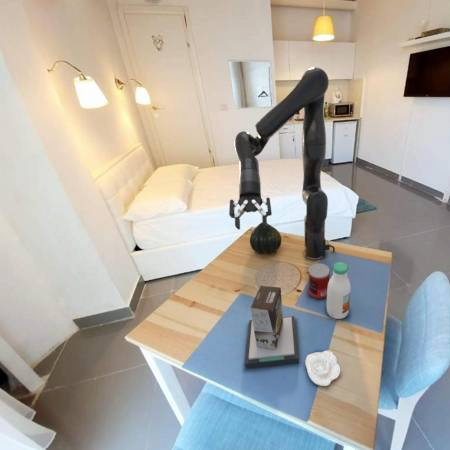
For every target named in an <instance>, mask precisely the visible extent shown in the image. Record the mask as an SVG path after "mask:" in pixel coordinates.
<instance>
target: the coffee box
mask: <svg viewBox="0 0 450 450" xmlns="http://www.w3.org/2000/svg"><path fill="white" fill-rule="evenodd" d="M250 313H251V320H253V327H254V333H255V340H256V346H257V347H260V348H266V349H272V350H276V349H277V346H278V343H279V339H280V336H281V332H282V329H283V325H284V324H283V317H284V312H283V301H282V288H281V287H279V286H271V285H268V286H267V285H260V286H259V288H258V290H257V293H256V295H255V297H254V299H253V301H252V304H251V306H250Z"/></svg>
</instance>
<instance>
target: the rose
mask: <svg viewBox="0 0 450 450" xmlns="http://www.w3.org/2000/svg"><path fill="white" fill-rule="evenodd" d="M304 364H305V368H306V372H307V375H308V377H309V379H310V381H311V382H312V383H313V384H315V385H317V386H320V387H328V386H329V385H331V383H332V381H334V380H336V379H337V378H339V377H340V374H341V366H340V365H339V363H338V359H337V357H336V355H335V354H334V353H333V351H331V350H323V351H317V352H313V353H309V354H308V355H307V356H306V357H305V361H304Z"/></svg>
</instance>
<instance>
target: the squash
mask: <svg viewBox="0 0 450 450" xmlns="http://www.w3.org/2000/svg"><path fill="white" fill-rule="evenodd" d="M249 244H250V247H251V249H252V250H253V251H254V252H256V253H259V254H267V253H268V254H272V255H273V254H275V253H276V251H278V250H279V249H280V247H281V245H282V235H281V233H280V231H279V230H278V229H276V228H275V227H274V226H272V225H271V224H269V223H268V222H267V226H265V228H263V223H262V222H260V223H259V224H258V225H256V227H254V229H253V230H252V232H251V234H250V236H249Z"/></svg>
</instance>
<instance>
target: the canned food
mask: <svg viewBox="0 0 450 450" xmlns="http://www.w3.org/2000/svg"><path fill="white" fill-rule="evenodd" d="M330 276H331V271H330V266H328V265H326V264H325V263H314V264H312V265H311V266H309V268H308V292H309V295H310V296H311V298H313V299H316V300H322V299H324V298H327V289H328V283H329V280H330V278H331V277H330Z"/></svg>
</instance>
